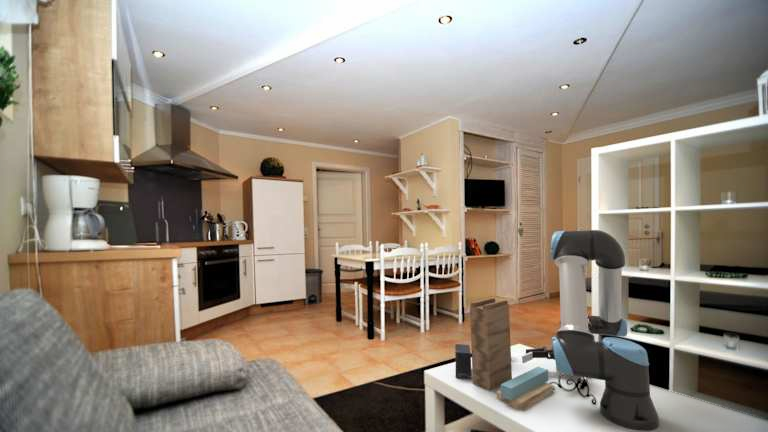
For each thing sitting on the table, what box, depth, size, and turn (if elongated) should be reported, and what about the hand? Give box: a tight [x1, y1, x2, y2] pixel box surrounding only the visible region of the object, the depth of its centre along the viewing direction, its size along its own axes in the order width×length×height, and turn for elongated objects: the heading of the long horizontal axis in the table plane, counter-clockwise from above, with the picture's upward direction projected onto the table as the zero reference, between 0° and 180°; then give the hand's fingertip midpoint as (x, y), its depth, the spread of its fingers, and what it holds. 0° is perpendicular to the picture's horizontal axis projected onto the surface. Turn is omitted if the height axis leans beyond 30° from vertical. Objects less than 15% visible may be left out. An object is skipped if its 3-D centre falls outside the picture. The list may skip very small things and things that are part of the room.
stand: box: [469, 297, 513, 392], centre depth 136 cm, size 8×14×32 cm, turn 126°
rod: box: [500, 366, 549, 401], centre depth 124 cm, size 4×24×4 cm, turn 126°
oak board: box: [495, 382, 554, 411], centre depth 124 cm, size 10×20×2 cm, turn 127°
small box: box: [454, 343, 472, 379], centre depth 144 cm, size 11×6×10 cm, turn 168°
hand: (539, 364), depth 131 cm, fingers open, 13 cm apart
